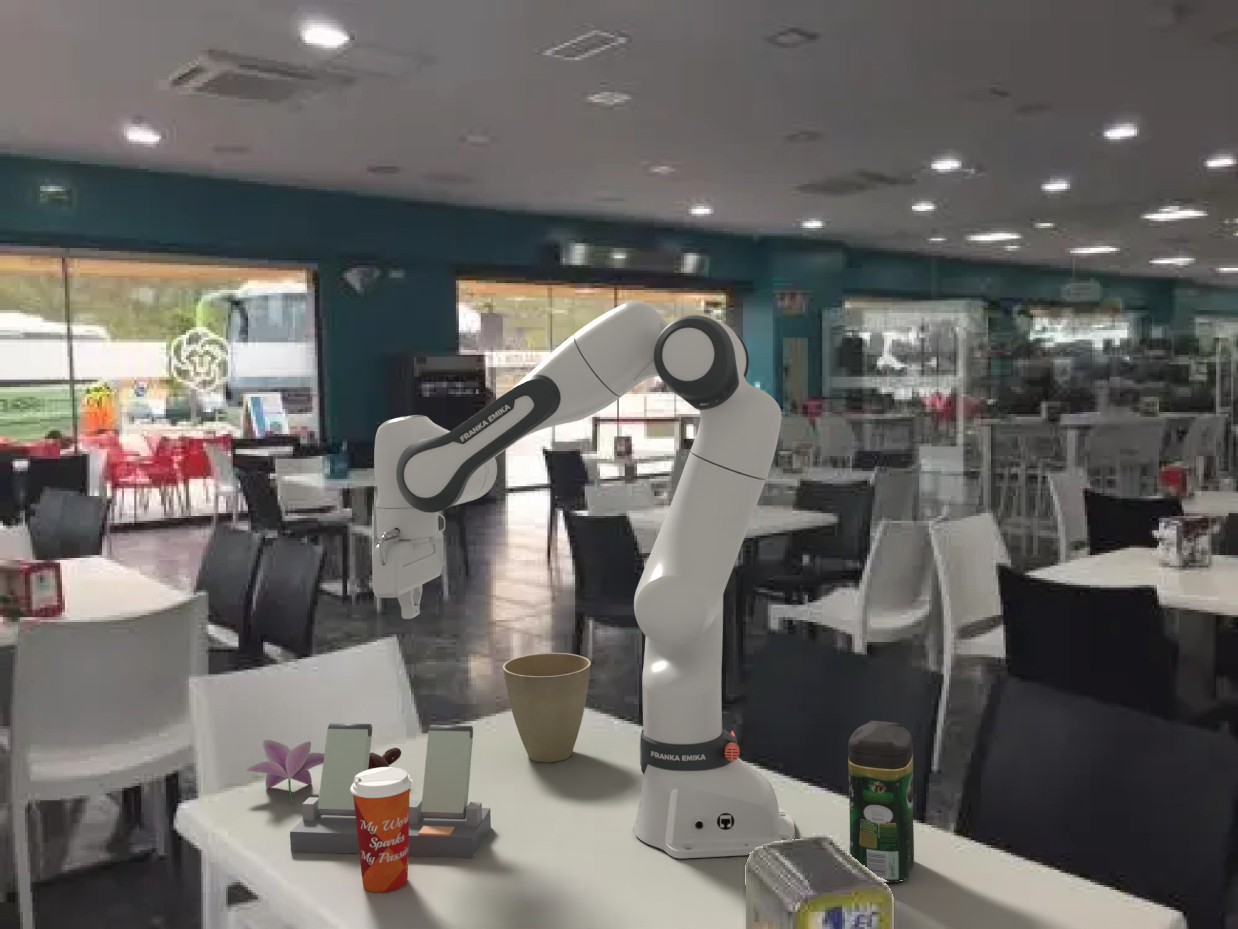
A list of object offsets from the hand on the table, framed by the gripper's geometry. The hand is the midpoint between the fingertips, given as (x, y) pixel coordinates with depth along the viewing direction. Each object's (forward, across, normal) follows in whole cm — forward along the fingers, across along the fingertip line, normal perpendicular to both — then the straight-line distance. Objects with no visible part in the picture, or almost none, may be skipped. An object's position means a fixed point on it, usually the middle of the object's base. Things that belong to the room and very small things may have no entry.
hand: (410, 617), depth 160 cm
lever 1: (+25, -12, +7) cm, 29 cm away
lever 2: (+25, -12, -8) cm, 29 cm away
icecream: (+29, +3, +10) cm, 31 cm away
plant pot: (+29, +24, -15) cm, 40 cm away
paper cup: (+30, -25, -4) cm, 39 cm away
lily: (+29, +3, +22) cm, 36 cm away
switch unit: (+29, -12, 0) cm, 31 cm away
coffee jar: (+30, -13, -67) cm, 75 cm away
